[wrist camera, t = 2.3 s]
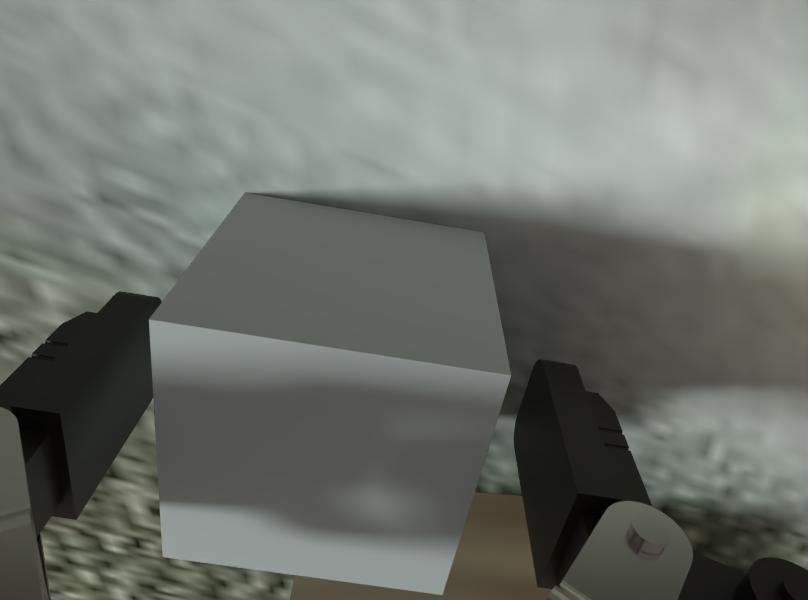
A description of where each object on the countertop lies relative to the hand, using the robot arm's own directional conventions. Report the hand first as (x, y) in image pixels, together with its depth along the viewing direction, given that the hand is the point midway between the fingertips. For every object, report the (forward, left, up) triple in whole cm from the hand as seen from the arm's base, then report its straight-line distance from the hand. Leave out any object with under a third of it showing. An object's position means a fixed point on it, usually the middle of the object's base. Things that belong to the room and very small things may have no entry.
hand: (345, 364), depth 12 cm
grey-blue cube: (0, 0, -2) cm, 2 cm away
